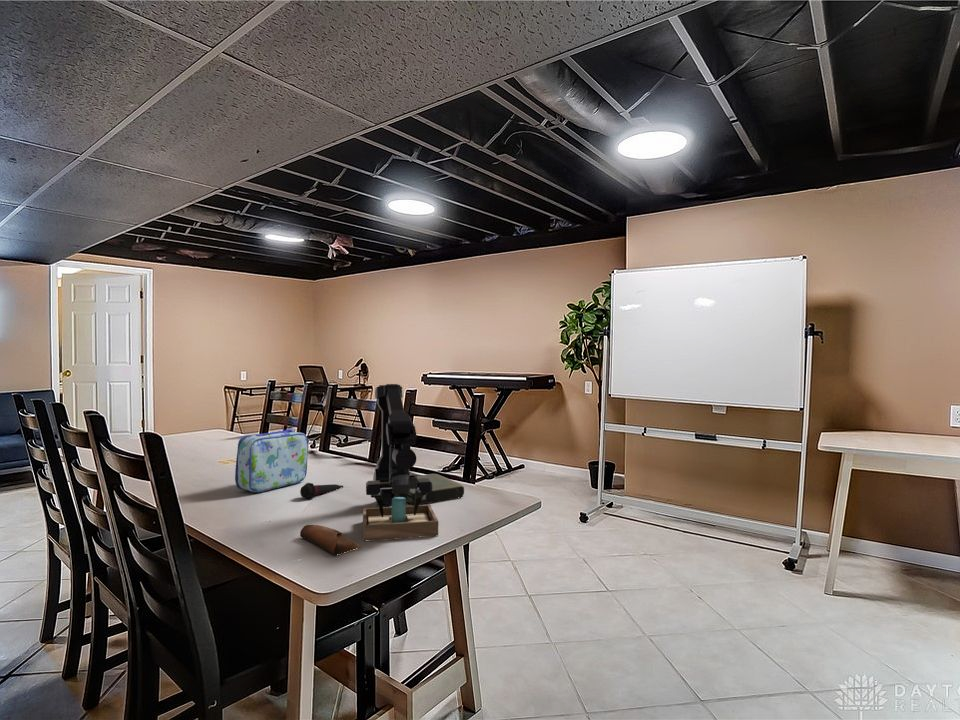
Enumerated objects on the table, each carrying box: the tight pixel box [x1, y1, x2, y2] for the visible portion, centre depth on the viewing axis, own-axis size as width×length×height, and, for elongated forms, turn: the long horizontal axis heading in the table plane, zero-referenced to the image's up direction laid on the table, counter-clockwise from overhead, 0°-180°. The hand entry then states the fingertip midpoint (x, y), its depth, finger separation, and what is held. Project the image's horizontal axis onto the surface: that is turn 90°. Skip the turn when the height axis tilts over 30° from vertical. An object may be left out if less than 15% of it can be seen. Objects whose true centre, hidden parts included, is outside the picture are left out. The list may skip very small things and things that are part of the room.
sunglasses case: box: [299, 524, 361, 556], centre depth 130 cm, size 18×7×7 cm
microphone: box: [299, 482, 344, 500], centre depth 177 cm, size 6×6×20 cm
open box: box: [362, 504, 440, 542], centre depth 142 cm, size 16×20×4 cm
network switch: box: [395, 473, 465, 506], centre depth 178 cm, size 23×24×5 cm
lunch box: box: [234, 428, 309, 493], centre depth 186 cm, size 26×11×21 cm, turn 149°
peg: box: [391, 496, 407, 523], centre depth 144 cm, size 4×4×8 cm
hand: (398, 515), depth 144 cm, fingers open, 9 cm apart
